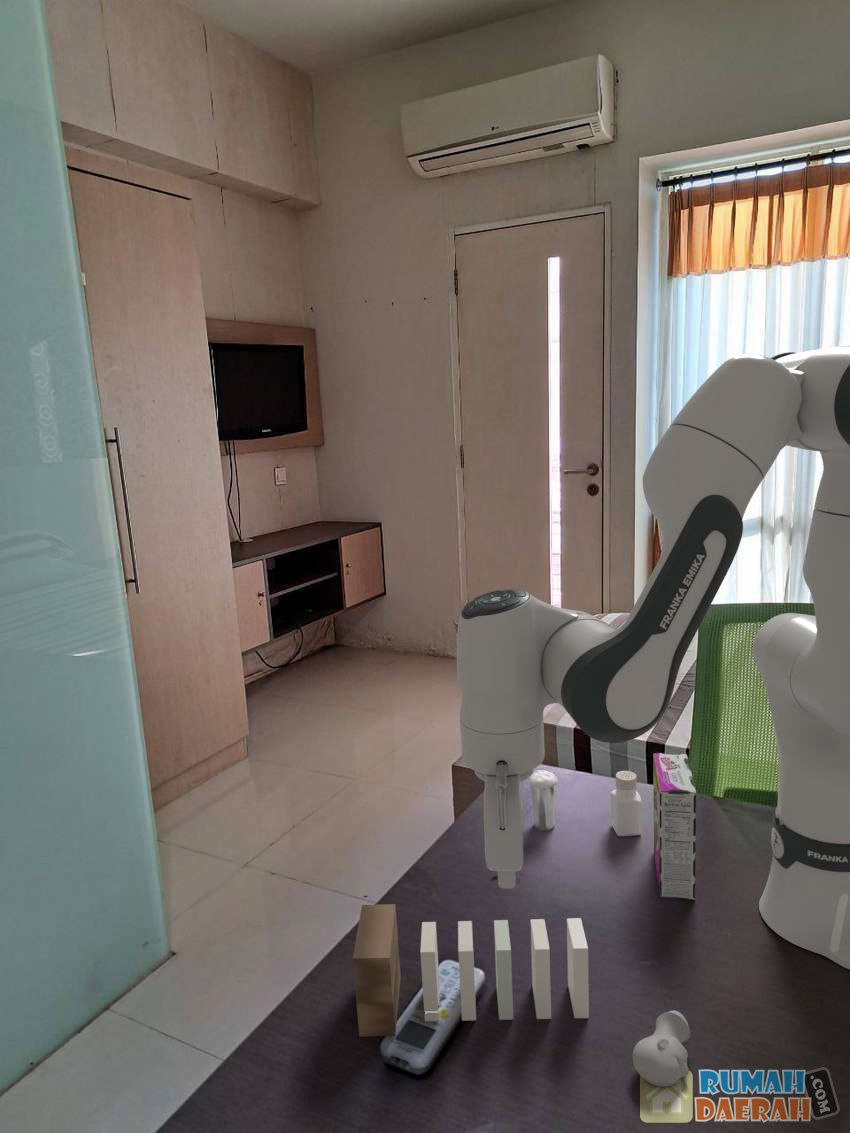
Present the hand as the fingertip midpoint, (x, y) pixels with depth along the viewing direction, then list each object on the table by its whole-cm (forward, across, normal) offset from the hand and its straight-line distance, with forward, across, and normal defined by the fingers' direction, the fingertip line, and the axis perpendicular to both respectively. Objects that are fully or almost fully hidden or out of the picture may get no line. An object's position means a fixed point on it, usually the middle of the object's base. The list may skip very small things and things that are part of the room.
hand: (507, 857), depth 86 cm
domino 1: (+19, -1, +9) cm, 21 cm away
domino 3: (+19, 0, +1) cm, 19 cm away
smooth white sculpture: (+19, -8, -16) cm, 26 cm away
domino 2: (+19, 0, +5) cm, 19 cm away
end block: (+18, -1, +15) cm, 24 cm away
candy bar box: (+19, +25, -22) cm, 38 cm away
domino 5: (+19, 0, -7) cm, 20 cm away
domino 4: (+19, 0, -3) cm, 19 cm away
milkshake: (+19, +37, -4) cm, 42 cm away
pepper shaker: (+19, +36, -17) cm, 45 cm away
